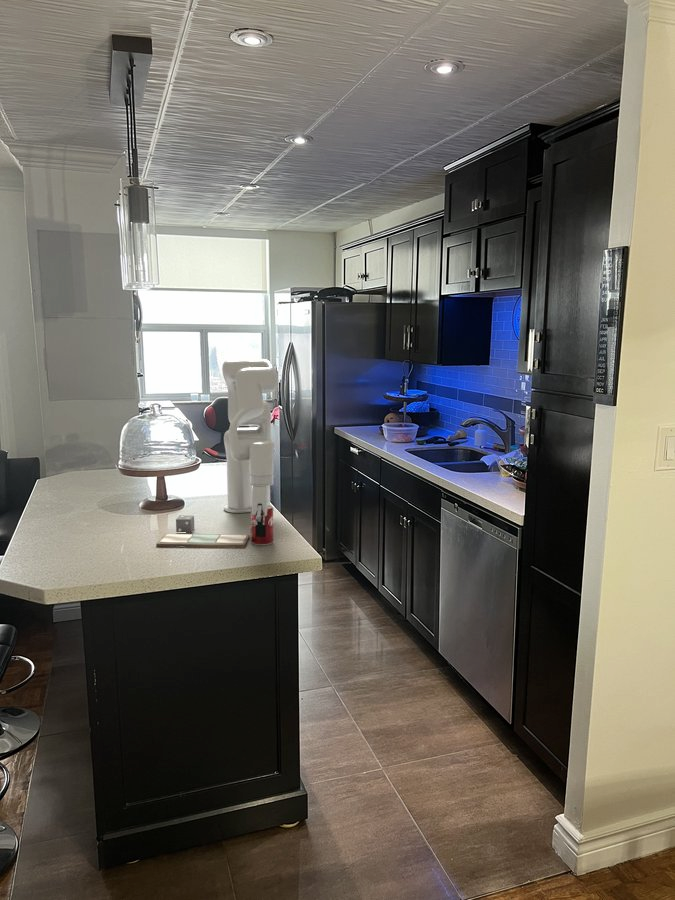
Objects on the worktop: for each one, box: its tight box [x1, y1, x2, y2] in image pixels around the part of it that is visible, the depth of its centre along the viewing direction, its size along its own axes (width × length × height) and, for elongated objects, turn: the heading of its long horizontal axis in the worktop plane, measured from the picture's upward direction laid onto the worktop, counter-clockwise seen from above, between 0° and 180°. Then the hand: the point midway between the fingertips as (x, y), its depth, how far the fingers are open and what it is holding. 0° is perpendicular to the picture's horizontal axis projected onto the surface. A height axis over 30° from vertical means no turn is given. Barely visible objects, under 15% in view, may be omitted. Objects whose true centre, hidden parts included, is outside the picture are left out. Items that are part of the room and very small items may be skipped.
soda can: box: [250, 504, 275, 547], centre depth 216 cm, size 7×7×12 cm
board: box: [155, 533, 251, 549], centre depth 217 cm, size 11×28×1 cm, turn 89°
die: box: [175, 514, 195, 534], centre depth 229 cm, size 5×5×5 cm
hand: (262, 532), depth 216 cm, fingers closed on soda can, 7 cm apart
